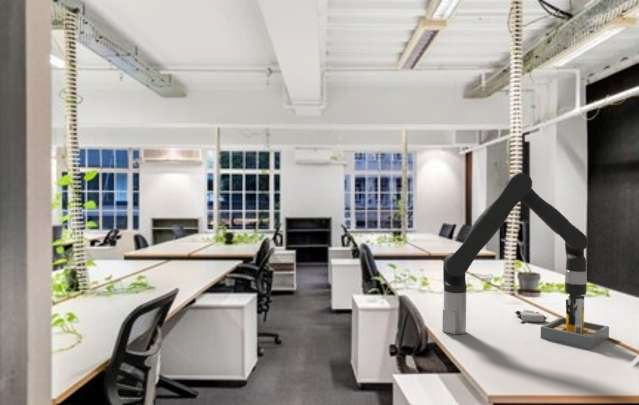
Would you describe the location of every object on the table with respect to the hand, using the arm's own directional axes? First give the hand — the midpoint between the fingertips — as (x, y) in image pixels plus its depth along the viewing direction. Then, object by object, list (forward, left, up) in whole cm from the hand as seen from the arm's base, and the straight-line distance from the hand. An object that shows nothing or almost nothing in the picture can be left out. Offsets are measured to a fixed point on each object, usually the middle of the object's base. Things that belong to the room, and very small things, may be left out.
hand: (574, 323), depth 178 cm
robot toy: (+15, +24, -7) cm, 29 cm away
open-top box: (0, 0, -7) cm, 7 cm away
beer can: (0, 0, -5) cm, 5 cm away
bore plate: (0, 0, -6) cm, 6 cm away
